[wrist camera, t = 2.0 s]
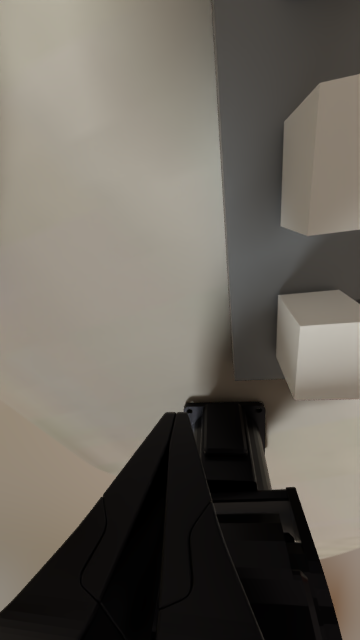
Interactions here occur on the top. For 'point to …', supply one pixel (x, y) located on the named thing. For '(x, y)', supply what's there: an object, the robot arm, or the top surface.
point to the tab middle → (323, 160)
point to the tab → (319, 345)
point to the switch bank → (274, 160)
